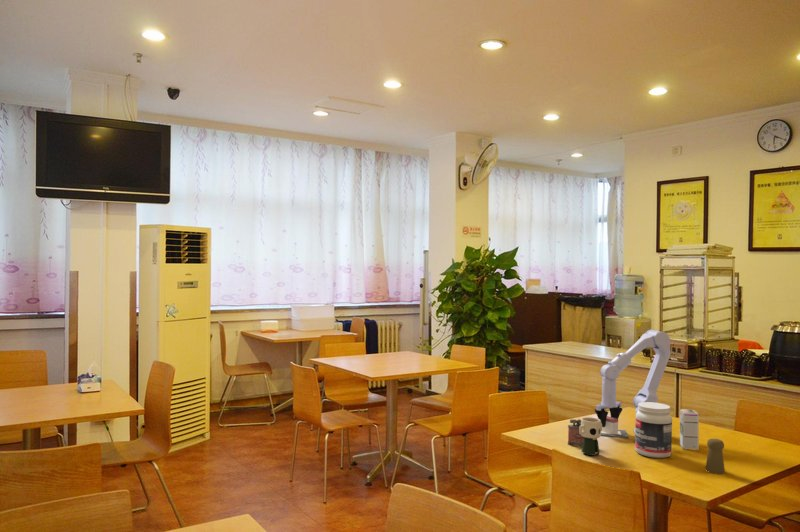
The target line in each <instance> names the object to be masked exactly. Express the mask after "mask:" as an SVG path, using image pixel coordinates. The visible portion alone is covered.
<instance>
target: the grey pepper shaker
mask: <svg viewBox="0 0 800 532" xmlns="http://www.w3.org/2000/svg"><path fill="white" fill-rule="evenodd" d="M706 444H707V447H708V453H707V457H706V464H705V469H706V470H707V471H706V470H705V471H706V472H708V471H709V472H708V473H710V472H711V473H710V474H714V473H717V474H716V475H724V474H725V473H726V470H725V462H724V453H723V450H724V448H725V443H724V441H723V440H721V439H719V438H709V439H707V442H706Z"/></svg>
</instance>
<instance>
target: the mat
mask: <svg viewBox="0 0 800 532" xmlns="http://www.w3.org/2000/svg"><path fill="white" fill-rule="evenodd" d="M600 437H611V438H622V439H629V434H628V433H627V430H626V429H618V433H617V434H609V433H606V432H602V431H601V436H600Z"/></svg>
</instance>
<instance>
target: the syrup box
mask: <svg viewBox="0 0 800 532" xmlns="http://www.w3.org/2000/svg"><path fill="white" fill-rule="evenodd" d="M699 418H700V415H699V412H697V411H696V410H695V409H689V408H688V409H685V408H684V409H679V447H681V448H682V449H683V450H687V449H695V450H694V451H699V449H700V448H699V441H700V439H699V438H700V437H699V433H700V432H699V430H700V429H699V425H700V424H699V423H700V422H699V420H700V419H699Z"/></svg>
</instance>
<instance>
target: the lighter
mask: <svg viewBox="0 0 800 532" xmlns="http://www.w3.org/2000/svg"><path fill="white" fill-rule="evenodd" d="M580 426H581V418H578V419H574V418H573V419H571V418H570V420H569V424H567V429H568V431H567V432H568V434H567V435H568V436H567V438H568V439H567V445H568V446H571V445H573V447H582V444H583V439H584V438H585V437H584V436H582V435H581V434H580V433H579V427H580Z"/></svg>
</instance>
